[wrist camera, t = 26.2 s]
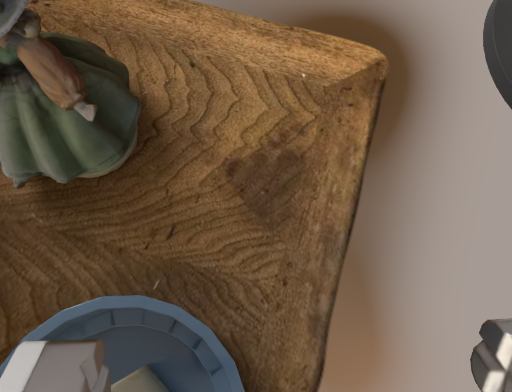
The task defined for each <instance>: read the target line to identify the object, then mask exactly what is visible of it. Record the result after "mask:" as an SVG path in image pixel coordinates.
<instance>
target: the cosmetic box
mask: <svg viewBox="0 0 512 392" xmlns="http://www.w3.org/2000/svg"><path fill="white" fill-rule="evenodd" d="M111 392H170V391H169V390H168V389H167V387H166V386H165V385H164V383H163V382H162V381H161V380H160V379H159V377H158V376H157V375H156V374H155V373H154V371H153V370H152V369H151V368H150V367H149V366H148V365H145V366H143V367H142V368H140V369H138V370H137V371H135V372H134V373H132V374H130V375H129V376H127V377H125V378H123V379H122V380H120V381H118V382H116V383H115V384H113V385H111Z"/></svg>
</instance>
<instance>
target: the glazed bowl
mask: <svg viewBox="0 0 512 392" xmlns="http://www.w3.org/2000/svg"><path fill="white" fill-rule="evenodd" d="M82 339H101V340H103V343H104V347H105V351H106V353H105V357H104V361H103V363H104V364H105V365H106V366H107V367H109V371H110V376H111V385H113V384H115V383H116V382H118V381H120V380H122V379H123V378H125V377H127V376H129V375H130V374H132V373H134V372H135V371H137V370H138V369H140V368H142V367H143V366H145V365H148V366H149V367H150V368H151V369H152V370H153V371H154V373H155V374H156V375H157V376H158V377H159V379H160V380H161V381H162V382H163V383H164V385H165V386H166V387H167V389H168V390H169V391H170V392H245V391H244V388H243V385H242V382H241V379H240V376H239V373H238V370H237V367H236V364H235V361H234V360H233V358H232V356H231V355H230V353H229V352H228V351H227V349H226V348H225V347H224V345H223V344H222V343H221V341H220V340H219V338H218V337H217V336H216V334H215V333H214V332H213V330H212V329H211V328H209V327H208V326H206V325H205V324H204V323H202V322H201V321H199V320H198V319H197V318H195V317H194V316H192V315H191V314H189V313H188V312H187V311H185V310H184V309H182V308H181V307H179V306H177V305H174V304H170V303H167V302H164V301H160V300H157V299H153V298H150V297H146V296H143V295H125V296H101V297H98V298H95V299H92V300H89V301H87V302H84V303H81V304H78V305H75V306H72V307H69V308H67V309H64V310H62V311H59V312H58V313H57V314H55V315H54V316H52V317H51V318H50V319H48V320H47V321H45V322H44V323H43V324H41V325H40V326H38V327H37V328H36V329H34V330H33V331H31V332H30V333H28V334H27V335H26V336H25V337H24V338H23V339H22V340H21V341H20V342H19V344H18V345H17V346H16V347H15V348H14V350H13V351H12V352H11V353H10V355H9V356H8V357H7V358H6V360H5V361H4V362H3V363H2V364H1V366H0V378H1V376H2V374H3V372H4V370H5V368H6V367H7V365H8V363H9V361H10V359H11V357H12V355H13V354H14V352H15V350H16V348H17V347H18V346H19V345H20V344H21V343H22V342H24V341H50V340H82Z"/></svg>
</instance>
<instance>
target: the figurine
mask: <svg viewBox="0 0 512 392" xmlns="http://www.w3.org/2000/svg"><path fill="white" fill-rule="evenodd" d="M28 1H29V0H0V162H1V164H2V171H3V173H4V174H5V175H6V176H8V177H9V178H13V188H15V189H19V188H22V187H24V186H25V184H26V183H27V181H28V179H29V178H31V177H34V176H37V175H45V176H49V177H51V178H52V179H54V180H55V181H57V182H60V183H65V184H66V183H68V182H70V181H71V180H72V179H74V178H76V177H83V178H94V177H99V176H102V175H106V174H108V173H109V172H111V171H115V170H117V169H118V168H119V167H120V166H122V165H123V164H124V162H125V161H126V160H127V159H128V158H129V157H130V156H131V155H132V153H133V151H134V149H135V147H136V145H137V138H138V132H139V130H138V125H137V121H138V118H139V114H140V111H141V107H142V103H141V102H140V100H139V99H138V98H137V97H136V96H134V95H133V94H132V92H131V91H130V89H129V71H128V69H127V67H126V66H125V65H124V64H123V63H122V62H120V61H118V60H116V59H114V58H112V57H110V56H108V55H107V54H106V52H105V50H103V49H102V48H101V47H99V46H98V45H96V44H94V43H92V42H90V41H87V40H85V39H83V38H81V37H78V36H71V35H64V34H60V33H48V32H44V31H41V25H40V21H41V18H40V16H39V15H38V13H36V12H33V11H32V10H30V9H28V8H25V7H26V5H27V4H28Z"/></svg>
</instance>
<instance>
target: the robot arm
mask: <svg viewBox="0 0 512 392" xmlns="http://www.w3.org/2000/svg"><path fill="white" fill-rule="evenodd" d="M479 334H480V336H481V338H482V339H483V340H482V341H481V342H480V343H479V344H478V345H477V346H475V347H474V349H473V352H472V355H471V359H470V361H471V370H472V374H473V377H474V379H475V382H476V384H477V385H478V387H479V388H480V390H481V392H512V318H511V319H495V320H487V321H486V322H485V323H483V324H482V326H481V329H480V332H479ZM105 353H106V351H105V347H104V343H103V340H101V339H82V340H50V341H24V342H22V343H21V344H20V345H19V346H18V347H17V348H16V350H15V352H14V354H13V355H12V357H11V359H10V361H9V363H8V365H7V367H6V368H5V370H4V372H3V374H2V376H1V378H0V392H111V376H110V371H109V367H107V366H106V365H105V364H104V363H103V361H104V357H105Z"/></svg>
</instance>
